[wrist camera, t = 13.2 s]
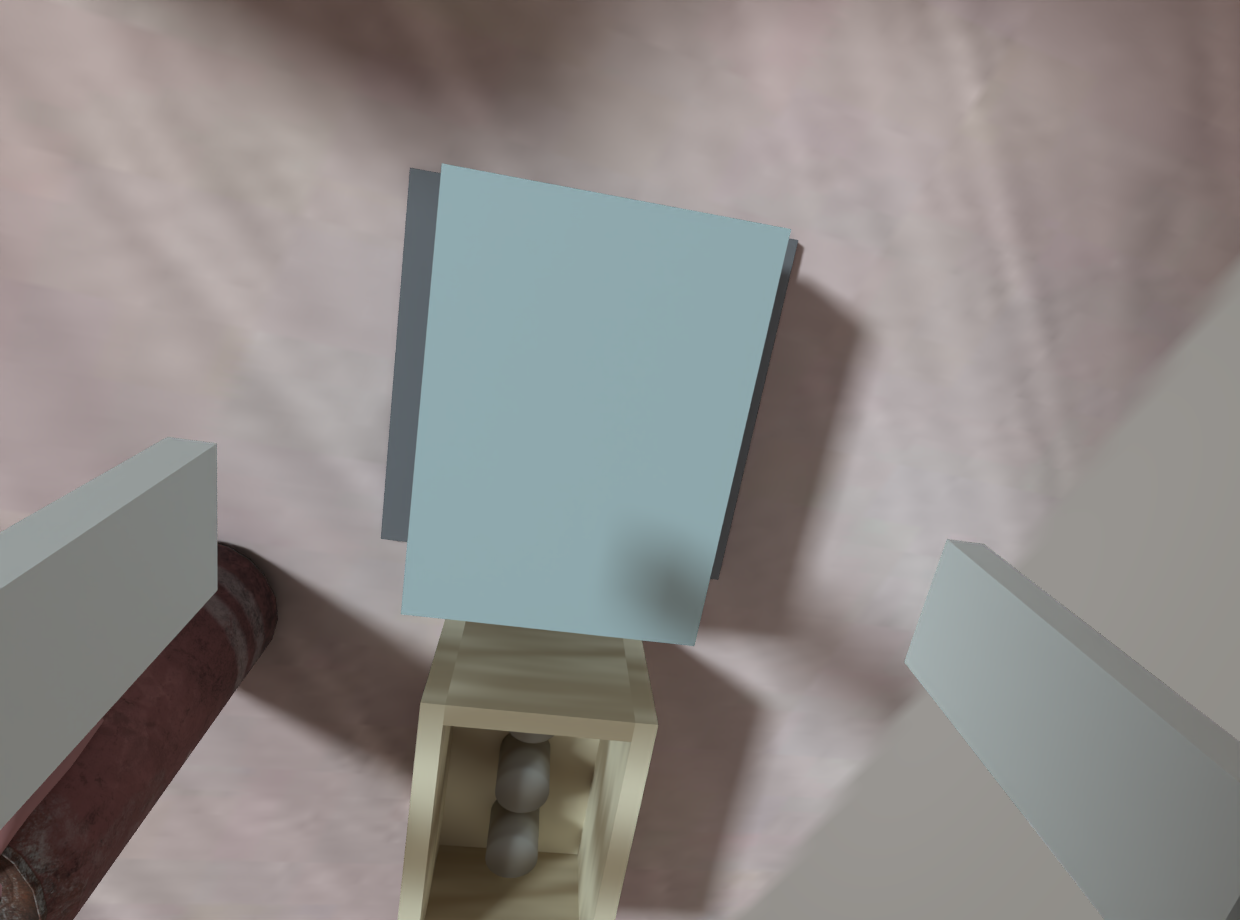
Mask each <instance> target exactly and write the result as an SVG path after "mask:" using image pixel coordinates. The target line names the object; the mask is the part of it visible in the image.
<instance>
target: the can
mask: <svg viewBox="0 0 1240 920" xmlns="http://www.w3.org/2000/svg"><path fill="white" fill-rule="evenodd" d="M217 587H218V590H217V591H216V592H215V593H214V594H213V596H212V597H211V598H210V599H209V600H208V601H207V602H206V603H205V604H204V606H203V607H202V608H201V609H200V610H199V611H198V612H197V613H196V614H195V615H194V617H193V618H192V619H191V620H190V621H189V622H188V623H187V624H186V625H185V627H184V628H183V629H182V630H181V631H180V632H179V633H178V634H177V635H176V636H175V638H174V639H173V640H172V641H171V642H170V643H169V644H168V645H167V646H166V648H165V649H164V650H163V651H162V652H161V653H160V654H159V655H158V656H157V657H156V659H155V660H154V661H153V662H152V663H151V664H150V665H149V666H148V667H147V669H146V670H145V671H144V672H143V673H142V674H141V675H140V676H139V677H138V678H137V680H136V681H135V682H134V683H133V684H132V685H131V686H130V687H129V688H128V690H127V691H126V692H125V693H124V694H123V695H122V696H121V697H120V698H119V699H118V701H117V702H116V703H115V704H114V705H113V706H112V707H111V708H110V709H109V711H108V712H107V713H106V714H105V715H104V716H103V717H102V718H101V719H100V720H99V722H98V723H97V724H96V725H95V726H94V727H93V728H92V729H91V730H90V732H89V733H88V734H87V735H86V736H85V737H84V738H83V739H82V740H81V741H80V743H79V744H78V745H77V746H76V747H75V748H74V749H73V750H72V751H71V752H70V754H69V755H68V756H67V757H66V758H65V759H64V760H63V761H62V762H61V764H60V765H59V766H58V767H57V768H56V769H55V770H54V771H53V772H52V773H51V775H50V776H49V777H48V778H47V779H46V780H45V781H44V782H43V783H42V785H41V786H40V787H39V788H38V789H37V790H36V791H35V792H34V793H33V794H32V796H31V797H30V798H29V799H28V800H27V801H26V802H25V803H24V804H23V806H22V807H21V808H20V809H19V810H18V811H17V812H16V813H15V814H14V815H13V817H12V818H11V819H10V820H9V821H8V822H7V823H6V824H5V825H4V827H3V828H2V829H1V830H0V920H73V919H74V918H75V916H76V915H77V914H78V912H79V911H80V909H81V908H82V907H83V905H84V904H85V902H86V901H87V900H88V898H89V897H90V895H91V894H92V892H93V891H94V890H95V888H96V887H97V885H98V884H99V883H100V881H101V880H102V878H103V877H104V876H105V874H106V873H107V871H108V870H109V868H110V867H111V866H112V864H113V863H114V861H115V860H116V859H117V857H118V856H119V854H120V853H121V852H122V850H123V849H124V847H125V846H126V844H127V843H128V842H129V840H130V839H131V837H132V836H133V835H134V833H135V832H136V830H137V829H138V828H139V826H140V825H141V823H142V822H143V820H144V819H145V818H146V816H147V815H148V813H149V812H150V811H151V809H152V808H153V806H154V805H155V803H156V802H157V801H158V799H159V798H160V796H161V795H162V794H163V792H164V791H165V789H166V788H167V787H168V785H169V784H170V782H171V781H172V779H173V778H174V777H175V775H176V774H177V772H178V771H179V770H180V768H181V767H182V765H183V764H184V763H185V761H186V760H187V758H188V757H189V755H190V754H191V753H192V751H193V750H194V748H195V747H196V746H197V744H198V743H199V741H200V740H201V739H202V737H203V736H204V734H205V733H206V731H207V730H208V729H209V727H210V726H211V724H212V723H213V722H214V720H215V719H216V717H217V716H218V715H219V713H220V712H221V710H222V709H223V707H224V706H225V705H226V703H227V702H228V700H229V699H230V698H231V696H232V695H233V693H234V692H235V690H236V689H237V688H238V686H239V685H240V683H241V682H242V681H243V679H244V678H245V676H246V675H247V674H248V672H249V671H250V669H251V668H252V666H253V665H254V664H255V662H256V661H257V659H258V658H259V657H260V655H261V654H262V652H263V651H264V650H265V648H266V647H267V645H268V644H269V642H270V641H271V640H272V637H273V634H274V630H275V627H276V623H277V620H278V618H277V608H276V598H275V596H274V594H273V592H272V590H271V588H270V586H269V584H268V582H267V579H266V577H265V575H264V574H263V573H262V572H261V571H260V570H259V569H258V568H257V566H256V565H255V564H254V563H253V562H252V561H251V560H250V559H249V558H247V557H245V556H244V555H242V554H240V553H239V552H237V551H236V550H234V549H232V548H231V547H227V546H224V545H221V544H217Z"/></svg>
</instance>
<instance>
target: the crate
mask: <svg viewBox="0 0 1240 920" xmlns="http://www.w3.org/2000/svg"><path fill="white" fill-rule="evenodd" d="M657 729H658V720H657V715H656V710H655V705H654V700H653V695H652V689H651V684H650V679H649V674H648V669H647V664H646V659H645V653H644V648H643V643H642V640H634V639H625V638H616V637H606V636H597V635H588V634H579V633H570V632H560V631H551V630H542V629H533V628H524V627H515V626H505V625H496V624H487V623H478V622H469V621H459V620H450V619H445V622H444V626H443V629H442V632H441V636H440V639H439V642H438V646H437V649H436V652H435V656H434V659H433V662H432V666H431V669H430V672H429V676H428V679H427V682H426V686H425V689H424V692H423V696H422V699H421V702H420V711H419V721H418V731H417V740H416V750H415V759H414V769H413V779H412V788H411V798H410V807H409V817H408V827H407V836H406V846H405V855H404V865H403V875H402V884H401V894H400V903H399V913H398V920H615V917H616V913H617V908H618V904H619V899H620V895H621V890H622V886H623V881H624V877H625V872H626V868H627V863H628V859H629V854H630V850H631V845H632V841H633V837H634V832H635V828H636V823H637V819H638V814H639V810H640V805H641V801H642V796H643V792H644V787H645V783H646V778H647V774H648V769H649V765H650V760H651V756H652V751H653V747H654V743H655V738H656V734H657Z"/></svg>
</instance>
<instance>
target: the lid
mask: <svg viewBox="0 0 1240 920" xmlns="http://www.w3.org/2000/svg"><path fill="white" fill-rule="evenodd" d="M790 232H791V229H787V228H782V227H777V226H771V225H766V224H761V223H755V222H750V221H745V220H740V219H734V218H729V217H724V216H718V215H713V214H708V213H702V212H697V211H692V210H686V209H681V208H676V207H670V206H665V205H660V204H655V203H649V202H644V201H639V200H633V199H628V198H623V197H617V196H612V195H607V194H601V193H596V192H591V191H585V190H580V189H575V188H570V187H564V186H559V185H554V184H548V183H543V182H538V181H532V180H527V179H522V178H516V177H511V176H506V175H500V174H495V173H490V172H485V171H479V170H474V169H469V168H463V167H458V166H453V165H447V164H442V167H441V178H440V189H439V200H438V211H437V222H436V233H435V244H434V255H433V266H432V277H431V288H430V299H429V310H428V321H427V332H426V343H425V354H424V365H423V376H422V387H421V398H420V409H419V420H418V431H417V442H416V453H415V464H414V475H413V487H412V498H411V509H410V520H409V531H408V542H407V553H406V564H405V575H404V586H403V597H402V608H401V614H404V615H413V616H423V617H432V618H441V619H450V620H459V621H469V622H478V623H487V624H496V625H505V626H515V627H524V628H533V629H542V630H551V631H560V632H570V633H579V634H588V635H597V636H606V637H616V638H625V639H634V640H643V641H652V642H662V643H671V644H680V645H689V646H694V645H695V641H696V637H697V632H698V628H699V624H700V620H701V615H702V611H703V607H704V602H705V598H706V594H707V589H708V585H709V581H710V576H711V572H712V568H713V563H714V559H715V555H716V551H717V546H718V542H719V538H720V533H721V529H722V525H723V520H724V516H725V512H726V507H727V503H728V499H729V495H730V490H731V486H732V482H733V477H734V473H735V469H736V464H737V460H738V456H739V451H740V447H741V443H742V439H743V434H744V430H745V426H746V421H747V417H748V413H749V408H750V404H751V400H752V395H753V391H754V387H755V382H756V378H757V374H758V370H759V365H760V361H761V357H762V352H763V348H764V344H765V339H766V335H767V331H768V326H769V322H770V318H771V314H772V309H773V305H774V301H775V296H776V292H777V288H778V283H779V279H780V275H781V270H782V266H783V262H784V258H785V253H786V249H787V245H788V240H789V236H790Z"/></svg>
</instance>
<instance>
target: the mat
mask: <svg viewBox="0 0 1240 920" xmlns="http://www.w3.org/2000/svg"><path fill="white" fill-rule="evenodd" d="M440 178H441V173H436V172H430V171H425V170H420V169H414V168H410V174H409V187H408V200H407V213H406V225H405V238H404V251H403V264H402V276H401V289H400V302H399V314H398V327H397V340H396V353H395V365H394V378H393V391H392V404H391V416H390V429H389V442H388V455H387V467H386V480H385V493H384V505H383V518H382V531H381V539H387V540H396V541H404V542H408V531H409V520H410V509H411V498H412V487H413V475H414V464H415V453H416V442H417V431H418V420H419V409H420V398H421V387H422V376H423V365H424V354H425V343H426V332H427V321H428V310H429V299H430V288H431V277H432V266H433V255H434V244H435V233H436V222H437V211H438V200H439V189H440ZM797 243H798V240H795V239H789V240H788V245H787V249H786V253H785V258H784V262H783V266H782V270H781V275H780V279H779V283H778V288H777V292H776V296H775V301H774V305H773V309H772V314H771V318H770V322H769V326H768V331H767V335H766V339H765V344H764V348H763V352H762V357H761V361H760V365H759V370H758V374H757V378H756V382H755V387H754V391H753V395H752V400H751V404H750V408H749V413H748V417H747V421H746V426H745V430H744V434H743V439H742V443H741V447H740V451H739V456H738V460H737V464H736V469H735V473H734V477H733V482H732V486H731V490H730V495H729V499H728V503H727V507H726V512H725V516H724V520H723V525H722V529H721V533H720V538H719V542H718V546H717V551H716V555H715V559H714V563H713V568H712V572H711V576H710V579H716V580H718V578H719V574H720V570H721V565H722V561H723V557H724V553H725V548H726V544H727V540H728V536H729V532H730V527H731V523H732V519H733V515H734V510H735V506H736V502H737V498H738V493H739V489H740V485H741V481H742V476H743V472H744V468H745V464H746V460H747V455H748V451H749V447H750V443H751V438H752V434H753V430H754V426H755V421H756V417H757V413H758V409H759V404H760V400H761V396H762V392H763V388H764V383H765V379H766V375H767V371H768V366H769V362H770V358H771V354H772V349H773V345H774V341H775V337H776V332H777V328H778V324H779V320H780V316H781V311H782V307H783V303H784V299H785V294H786V290H787V286H788V282H789V277H790V273H791V269H792V265H793V260H794V256H795V252H796V248H797Z"/></svg>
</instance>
